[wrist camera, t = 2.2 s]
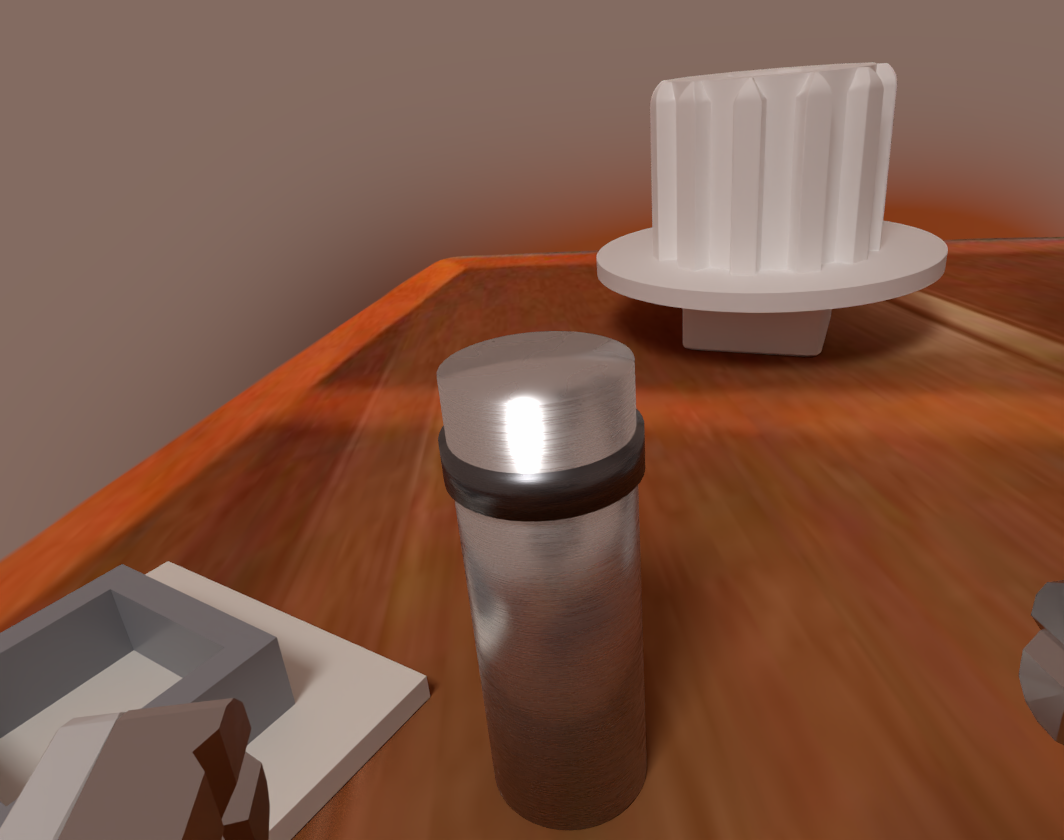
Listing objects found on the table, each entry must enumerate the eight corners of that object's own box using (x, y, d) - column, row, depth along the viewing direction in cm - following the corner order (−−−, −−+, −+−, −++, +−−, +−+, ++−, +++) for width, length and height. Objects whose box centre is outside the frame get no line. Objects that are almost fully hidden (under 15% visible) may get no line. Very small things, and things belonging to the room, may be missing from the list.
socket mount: (173, 578, 37) (149, 506, 35) (430, 696, 29) (414, 609, 27) (-263, 846, 25) (-331, 757, 24) (-44, 1182, 17) (-126, 1081, 15)
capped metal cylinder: (544, 680, 29) (508, 320, 23) (680, 735, 26) (677, 341, 20) (455, 788, 25) (383, 386, 19) (603, 867, 22) (573, 423, 16)
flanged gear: (931, 293, 67) (963, 50, 59) (939, 410, 46) (991, 63, 38) (648, 284, 77) (644, 76, 69) (553, 378, 56) (531, 97, 48)
